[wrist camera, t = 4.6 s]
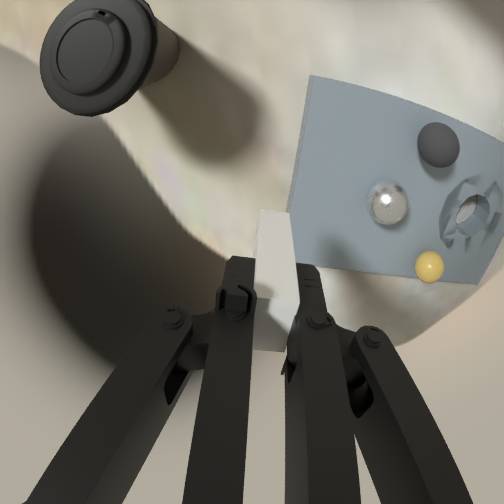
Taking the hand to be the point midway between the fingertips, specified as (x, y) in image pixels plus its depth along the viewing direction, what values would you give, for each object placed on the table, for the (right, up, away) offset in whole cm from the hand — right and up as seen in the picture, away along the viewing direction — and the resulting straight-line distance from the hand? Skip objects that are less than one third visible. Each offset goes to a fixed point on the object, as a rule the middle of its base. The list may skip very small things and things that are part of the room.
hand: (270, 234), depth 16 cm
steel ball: (+9, +3, +5) cm, 11 cm away
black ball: (+13, +7, +2) cm, 15 cm away
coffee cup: (-9, +15, +4) cm, 18 cm away
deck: (+14, +5, +9) cm, 18 cm away
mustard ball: (+16, -2, +9) cm, 18 cm away
